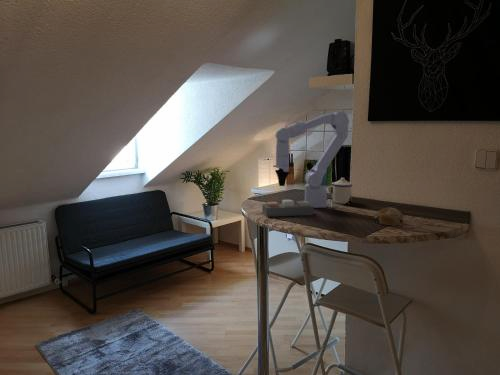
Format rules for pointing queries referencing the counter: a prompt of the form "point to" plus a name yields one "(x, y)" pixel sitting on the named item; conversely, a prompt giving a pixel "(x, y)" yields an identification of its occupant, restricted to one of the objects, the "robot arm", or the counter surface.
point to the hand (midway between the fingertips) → (281, 185)
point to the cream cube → (287, 203)
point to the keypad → (287, 210)
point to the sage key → (302, 203)
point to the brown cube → (272, 204)
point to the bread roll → (389, 216)
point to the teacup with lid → (341, 191)
